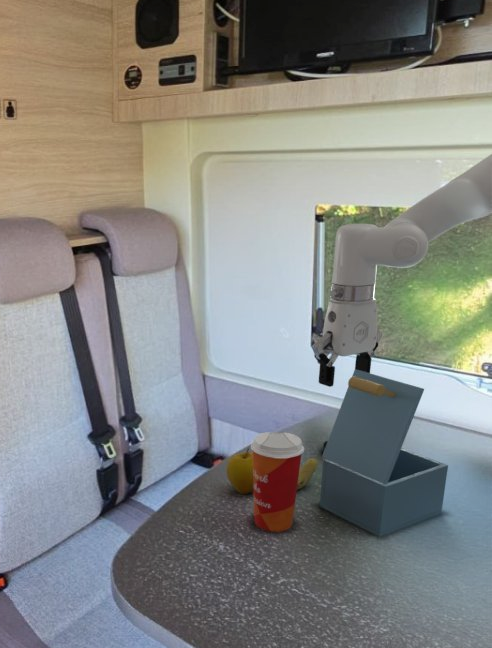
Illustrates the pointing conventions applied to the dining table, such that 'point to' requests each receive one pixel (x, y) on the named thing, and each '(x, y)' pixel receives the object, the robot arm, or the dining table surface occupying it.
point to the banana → (306, 472)
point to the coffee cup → (275, 479)
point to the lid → (372, 424)
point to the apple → (241, 472)
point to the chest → (385, 493)
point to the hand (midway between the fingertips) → (344, 380)
